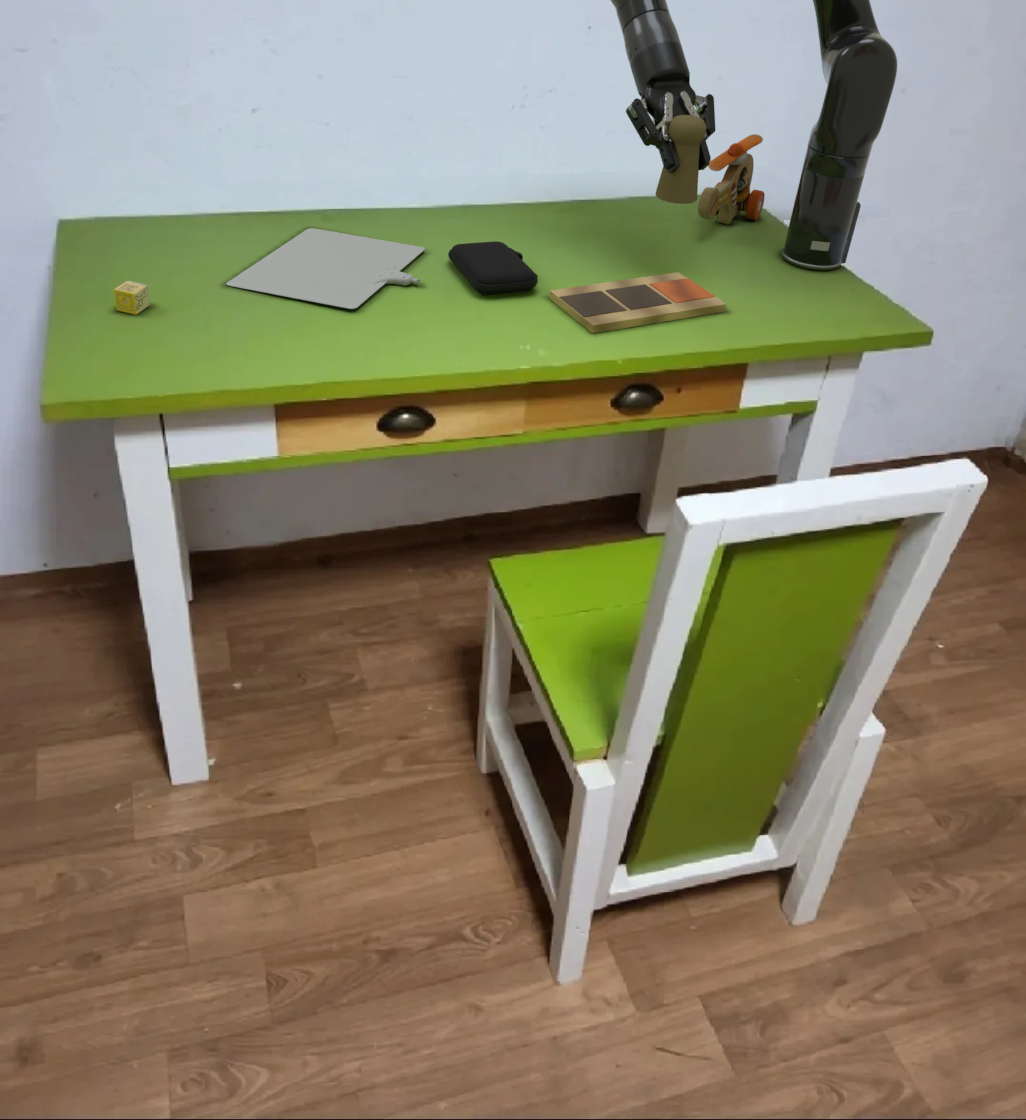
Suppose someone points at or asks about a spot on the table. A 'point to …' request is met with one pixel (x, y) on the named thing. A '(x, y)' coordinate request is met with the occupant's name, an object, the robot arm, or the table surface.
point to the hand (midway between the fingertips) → (689, 168)
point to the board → (636, 302)
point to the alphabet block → (131, 297)
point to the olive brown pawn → (683, 161)
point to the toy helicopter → (733, 185)
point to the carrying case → (493, 268)
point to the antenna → (330, 268)
